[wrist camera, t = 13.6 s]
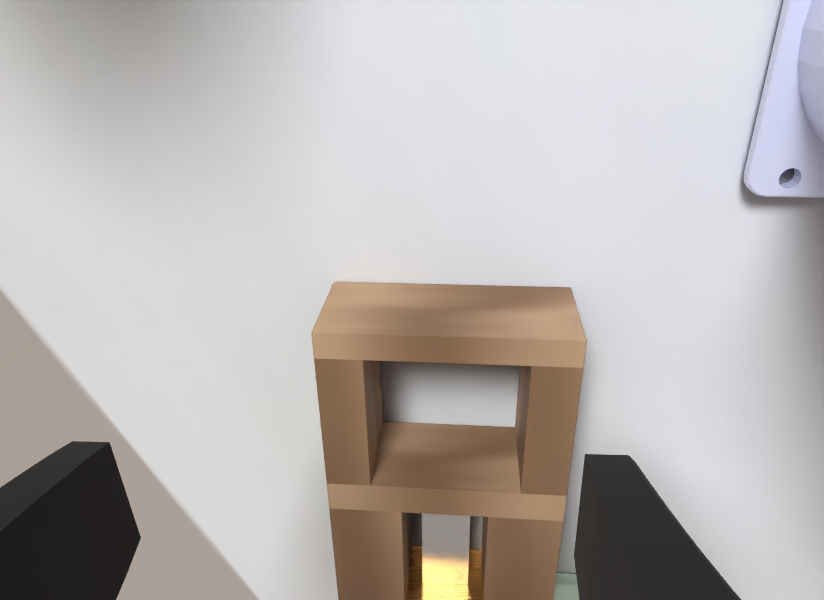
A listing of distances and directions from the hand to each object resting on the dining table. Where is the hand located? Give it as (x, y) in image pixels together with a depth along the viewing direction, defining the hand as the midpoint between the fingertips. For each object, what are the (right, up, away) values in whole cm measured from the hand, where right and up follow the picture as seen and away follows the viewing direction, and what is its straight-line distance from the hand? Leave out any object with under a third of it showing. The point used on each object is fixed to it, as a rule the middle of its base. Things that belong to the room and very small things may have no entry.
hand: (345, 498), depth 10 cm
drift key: (+2, -5, +13) cm, 14 cm away
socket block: (+2, -1, +12) cm, 12 cm away
